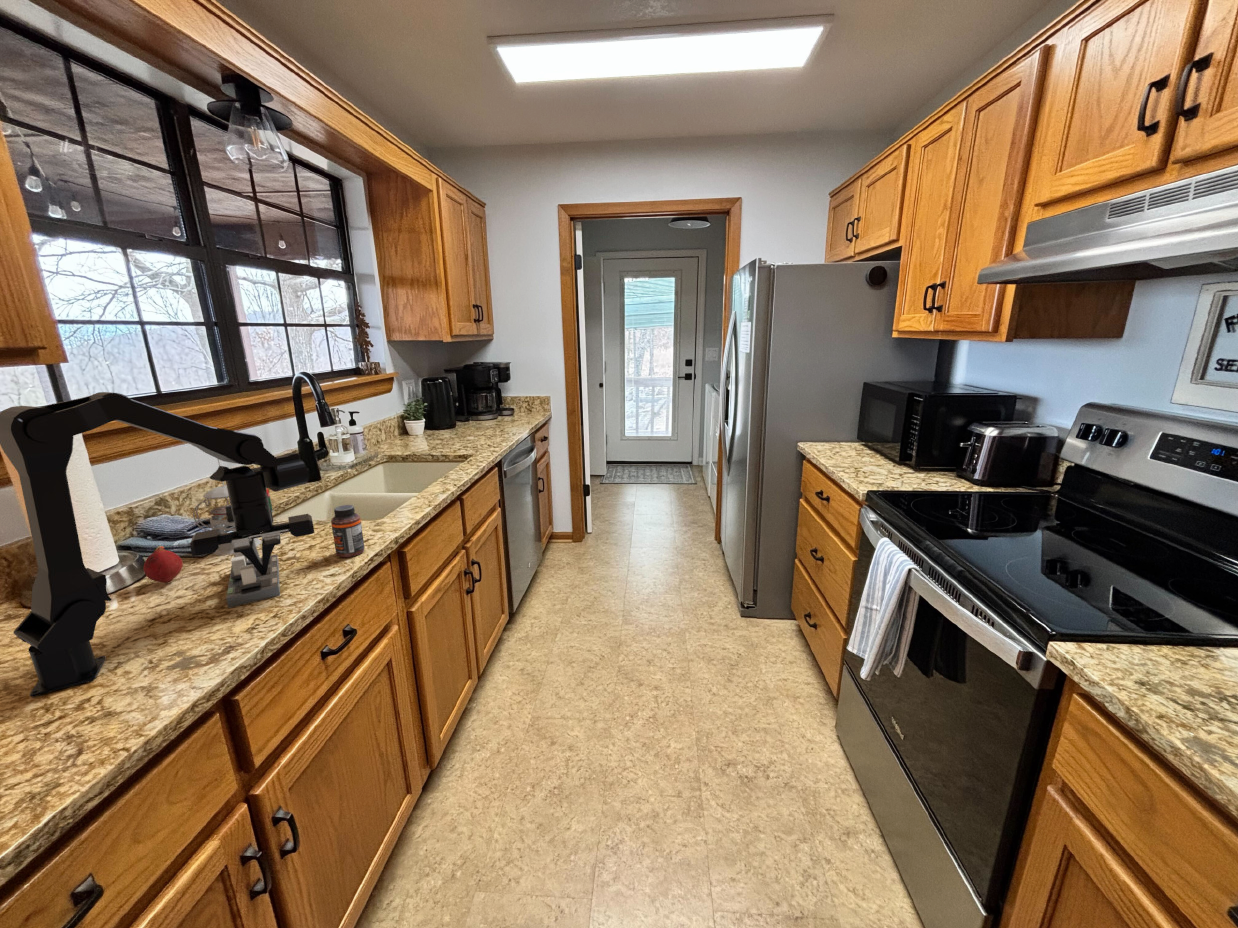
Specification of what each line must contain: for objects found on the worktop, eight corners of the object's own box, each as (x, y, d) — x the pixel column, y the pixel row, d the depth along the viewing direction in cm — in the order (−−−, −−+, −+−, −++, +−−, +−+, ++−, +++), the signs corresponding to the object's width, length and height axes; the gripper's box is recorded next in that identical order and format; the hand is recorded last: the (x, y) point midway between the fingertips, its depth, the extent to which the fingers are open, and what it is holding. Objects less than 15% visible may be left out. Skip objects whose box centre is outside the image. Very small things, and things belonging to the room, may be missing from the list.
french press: (255, 550, 117) (233, 447, 111) (194, 559, 113) (168, 452, 106) (266, 536, 126) (247, 439, 119) (211, 543, 121) (188, 444, 115)
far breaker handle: (251, 565, 104) (247, 549, 103) (233, 568, 102) (229, 552, 101) (251, 560, 106) (248, 544, 105) (234, 563, 105) (230, 547, 104)
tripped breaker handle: (259, 585, 95) (256, 568, 94) (240, 589, 93) (236, 572, 93) (260, 579, 97) (256, 562, 97) (241, 583, 96) (237, 566, 95)
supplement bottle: (330, 555, 114) (322, 509, 111) (354, 546, 119) (347, 501, 116) (347, 560, 111) (339, 513, 108) (370, 550, 116) (364, 505, 113)
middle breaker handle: (250, 575, 99) (246, 559, 98) (231, 579, 97) (227, 563, 96) (250, 570, 101) (247, 554, 100) (232, 574, 100) (228, 557, 99)
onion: (163, 590, 98) (153, 553, 96) (140, 588, 99) (130, 551, 97) (193, 577, 104) (184, 542, 102) (171, 575, 105) (162, 540, 103)
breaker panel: (279, 595, 96) (278, 585, 96) (228, 607, 92) (226, 597, 91) (278, 562, 110) (276, 553, 110) (233, 571, 106) (231, 562, 106)
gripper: (304, 480, 104) (316, 549, 108) (190, 496, 94) (207, 571, 98) (308, 493, 95) (320, 567, 99) (181, 512, 85) (200, 594, 89)
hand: (264, 574), depth 96 cm, fingers closed
